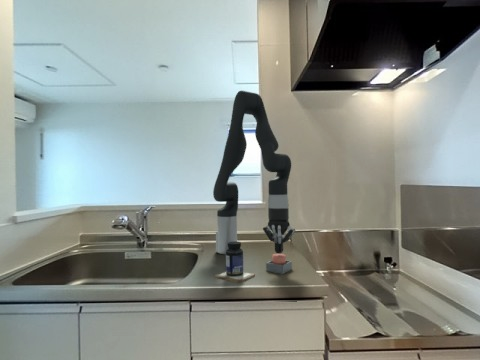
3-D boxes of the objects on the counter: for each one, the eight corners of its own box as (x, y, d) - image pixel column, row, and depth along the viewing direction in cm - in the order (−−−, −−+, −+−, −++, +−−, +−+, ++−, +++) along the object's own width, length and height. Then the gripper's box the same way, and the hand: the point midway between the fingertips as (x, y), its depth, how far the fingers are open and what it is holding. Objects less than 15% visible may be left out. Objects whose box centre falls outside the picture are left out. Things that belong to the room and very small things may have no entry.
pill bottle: (245, 272, 105) (245, 241, 105) (240, 277, 99) (239, 244, 99) (229, 270, 107) (229, 240, 107) (223, 275, 101) (222, 243, 101)
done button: (269, 266, 109) (269, 255, 109) (276, 263, 113) (276, 253, 113) (282, 268, 106) (281, 257, 106) (288, 265, 110) (287, 254, 110)
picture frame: (214, 277, 102) (214, 274, 102) (230, 270, 110) (230, 268, 110) (240, 283, 96) (240, 280, 96) (255, 275, 103) (255, 273, 103)
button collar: (266, 270, 109) (266, 262, 109) (275, 266, 115) (275, 258, 115) (283, 274, 105) (283, 265, 105) (291, 269, 111) (291, 261, 111)
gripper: (257, 206, 111) (258, 253, 110) (290, 208, 103) (291, 257, 103) (267, 205, 117) (268, 249, 117) (298, 206, 109) (299, 253, 109)
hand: (279, 253), depth 110 cm, fingers closed
